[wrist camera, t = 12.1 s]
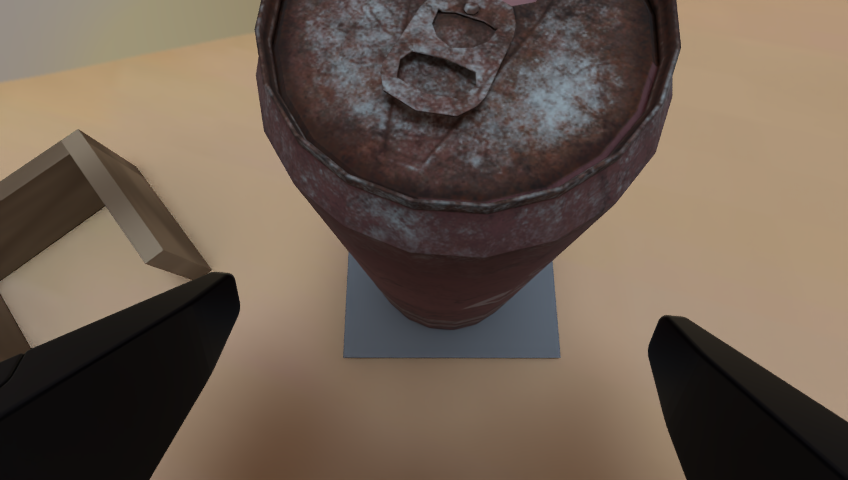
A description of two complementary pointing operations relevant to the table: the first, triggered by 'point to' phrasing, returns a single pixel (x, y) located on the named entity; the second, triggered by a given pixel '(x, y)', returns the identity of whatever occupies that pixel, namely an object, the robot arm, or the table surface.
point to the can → (463, 131)
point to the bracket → (83, 215)
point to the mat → (491, 338)
